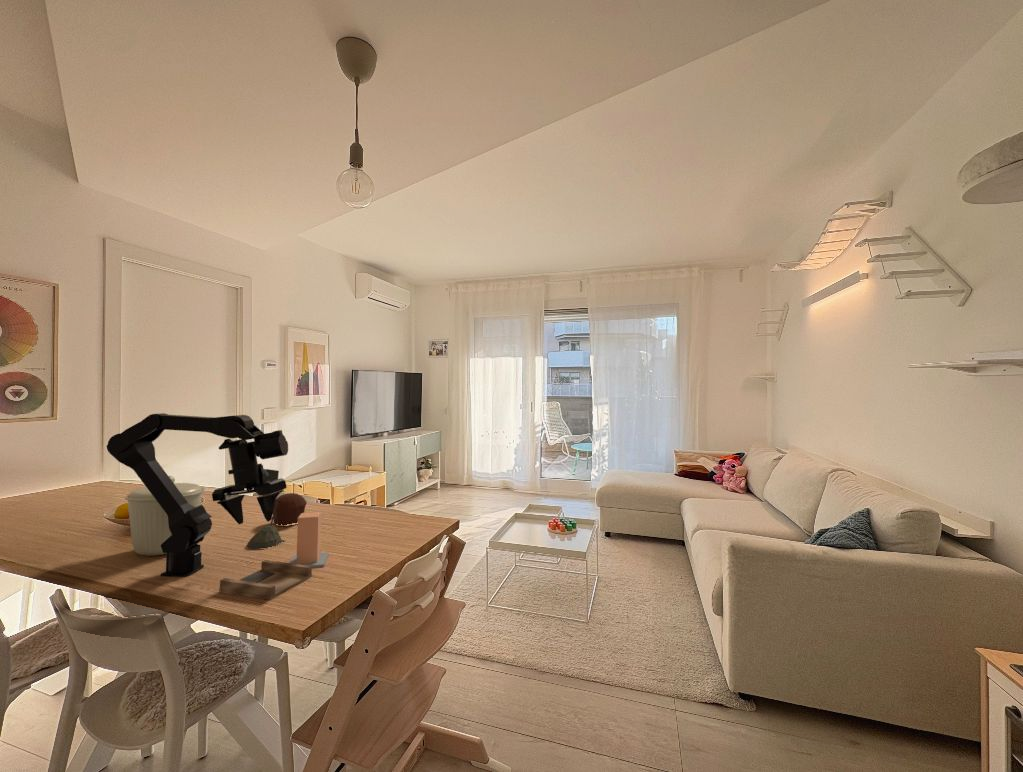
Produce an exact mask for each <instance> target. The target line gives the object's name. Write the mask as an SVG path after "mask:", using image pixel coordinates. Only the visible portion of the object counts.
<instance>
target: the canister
mask: <svg viewBox="0 0 1023 772" xmlns="http://www.w3.org/2000/svg"><path fill="white" fill-rule="evenodd" d="M168 476H169V478H170V479H171V480H172V482H173V483H174V484H175V486H176V487H177V489H178V490H179V491H180V493H181V494H182V495H183V497H184V498H185V499H186V501H187V502H188V503H189V504H190V505H192V506H194V507H197V506H200V505H202V498H203V493H205V491H206V488H205V487H203V486H201V485H199V484H197V483H189V482H176V479H175V477H174V476H172V475H168ZM124 499H125V500H126V501H127V506H128V507H127V508H128V519H129V527H130V534H131V542H132V547H133V549H134V550H133V551H135V552H136V553H137V554H138V555H141V556H151V557H152V556H159V555H160V556H161V555H166V554H167V553H163V551H162V548H161V544H162V543H163V542H164V541H166V540H167V539H168V538H169V537H170V536H171V535H172V534H171V532H170V530H169V525H168V516H167V514H166V513H165V511H164V510H163V509H162V507H161V506H160V505H159V503H158V502H157V501H156V499H155V498H154V497H153V495H152V494H151V493H150V491H149V490H148V489H147V487H146V486H143V487H139V488H136V489H134V490H132V491H131V492H130V493H127V494H126V495H125V496H124Z"/></svg>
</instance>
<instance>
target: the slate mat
mask: <svg viewBox="0 0 1023 772" xmlns="http://www.w3.org/2000/svg"><path fill="white" fill-rule="evenodd" d="M329 554H330V553H329V552H320V557H319V559H318V561H317V562H314V563H301V564H300V565H307V566H312V569H314V568H324V567H325V565H326V562H327V560H328V558H329ZM327 557H328V558H327ZM288 563H292V564H296V563H297V554H293V556H292V557H291V559H290V560H289V562H288Z"/></svg>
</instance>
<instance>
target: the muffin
mask: <svg viewBox="0 0 1023 772" xmlns="http://www.w3.org/2000/svg"><path fill="white" fill-rule="evenodd" d="M276 502H278V504H277V507H276V510H275V506H276ZM306 506H307V500H306V499H305V497H304V496H302V495H300V494H298V493H296V492H295V493H294V492H290V493H285V494H284V493H283V494H281V495H278V496H277V498H276V501H275V504H274V509H273V512H274V510H275V515H276V517H275V515H274V519H275V520H274V519H273V524H274V523H275V524H278V525H281V524H282V525H287V524H292V523H297V522H298V517H299V516H300V515H301V513H305V512H306V511H305V509H306Z"/></svg>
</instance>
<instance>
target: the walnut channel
mask: <svg viewBox="0 0 1023 772" xmlns="http://www.w3.org/2000/svg"><path fill="white" fill-rule="evenodd" d="M260 567H261V569H260V570H257V571H254V572H253V573H250V574H249V575H247V576H244V577H242V578H240V579H233V578H227V577H224V578H222V579H220V580H219V590H218V591H219V593H224V594H231V595H236V596H243V597H250V598H255V599H262V600H268V601H272V600H274V599H275V598H277V597H278V596H280V595H282V594H284V593H285V592H287V591H289V590H291V589H292V588H294V587H296V586H297V585H300V584H301V583H303V582H305V581H306V580H308V579H310V578H312V577H313V574H312V573H313V570H312V569H313V568H312V566H307V565H300V564H292V563H289V562H281V561H277V560H276V561H275V560H269V559H264V560H262V561H261V566H260Z"/></svg>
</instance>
